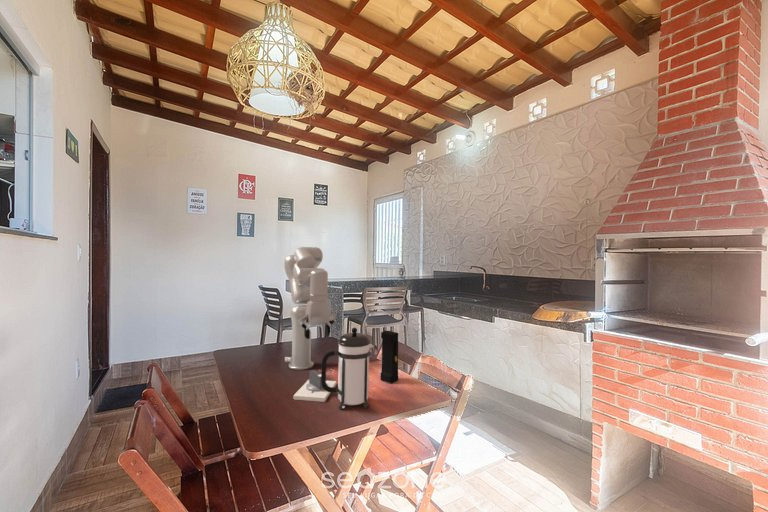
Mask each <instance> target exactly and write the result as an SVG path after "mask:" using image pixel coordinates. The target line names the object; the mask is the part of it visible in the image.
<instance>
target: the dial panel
mask: <svg viewBox="0 0 768 512" xmlns="http://www.w3.org/2000/svg"><path fill="white" fill-rule="evenodd" d="M308 383H309V379H307V380H306V381H305V382H304V384H303V385H302V386H301V387H300V388H299V389H298V390H297V391H296V392H295V394H294V395H293V398H292V399H294V400H295V401H309V402H321V403H322V402H323V403H324V402H325V403H326V401H327V399H328V397H329V396H330V395H331V393H332V392H328V391H326V390H320V391H310V390H308V389H306V385H307V384H308ZM326 383H327V386H329V387H337V381H336V380H326Z"/></svg>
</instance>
